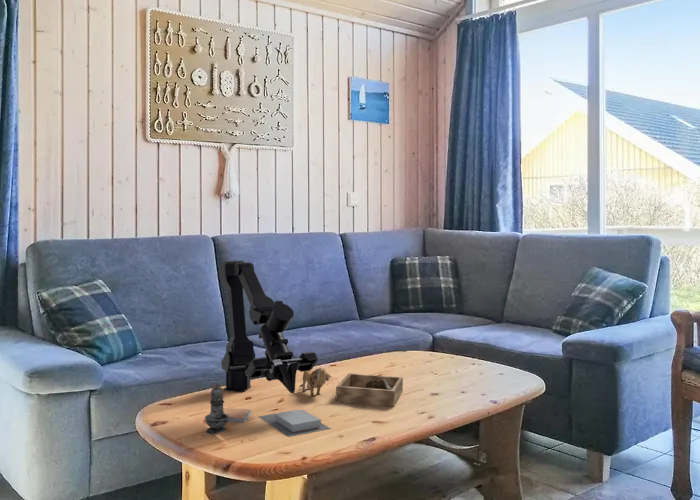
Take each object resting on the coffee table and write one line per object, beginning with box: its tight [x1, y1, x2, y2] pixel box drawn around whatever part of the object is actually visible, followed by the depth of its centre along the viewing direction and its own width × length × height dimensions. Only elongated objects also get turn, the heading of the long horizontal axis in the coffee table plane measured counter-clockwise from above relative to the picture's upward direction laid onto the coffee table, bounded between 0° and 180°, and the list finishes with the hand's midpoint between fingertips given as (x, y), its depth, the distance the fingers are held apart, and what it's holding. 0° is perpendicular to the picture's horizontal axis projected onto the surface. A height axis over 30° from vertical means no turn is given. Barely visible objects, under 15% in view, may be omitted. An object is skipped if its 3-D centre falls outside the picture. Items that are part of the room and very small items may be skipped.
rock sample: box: [365, 380, 392, 390], centre depth 200 cm, size 10×8×9 cm
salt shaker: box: [204, 383, 229, 435], centre depth 166 cm, size 6×6×12 cm
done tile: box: [223, 407, 252, 423], centre depth 176 cm, size 10×8×2 cm
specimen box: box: [335, 372, 404, 408], centre depth 198 cm, size 17×16×4 cm
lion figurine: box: [299, 367, 332, 397], centre depth 200 cm, size 15×5×9 cm, turn 35°
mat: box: [258, 409, 332, 438], centre depth 172 cm, size 18×12×1 cm, turn 32°
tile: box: [274, 408, 322, 432], centre depth 170 cm, size 2×8×10 cm
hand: (292, 392), depth 172 cm, fingers closed
